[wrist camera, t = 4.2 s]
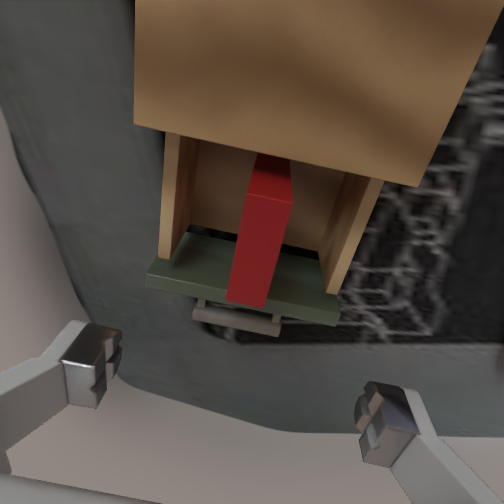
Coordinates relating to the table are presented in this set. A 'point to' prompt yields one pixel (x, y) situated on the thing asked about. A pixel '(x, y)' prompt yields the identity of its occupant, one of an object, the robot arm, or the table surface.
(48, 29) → the table surface
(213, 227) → the drawer
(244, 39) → the cabinet
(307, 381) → the table surface
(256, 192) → the card box
